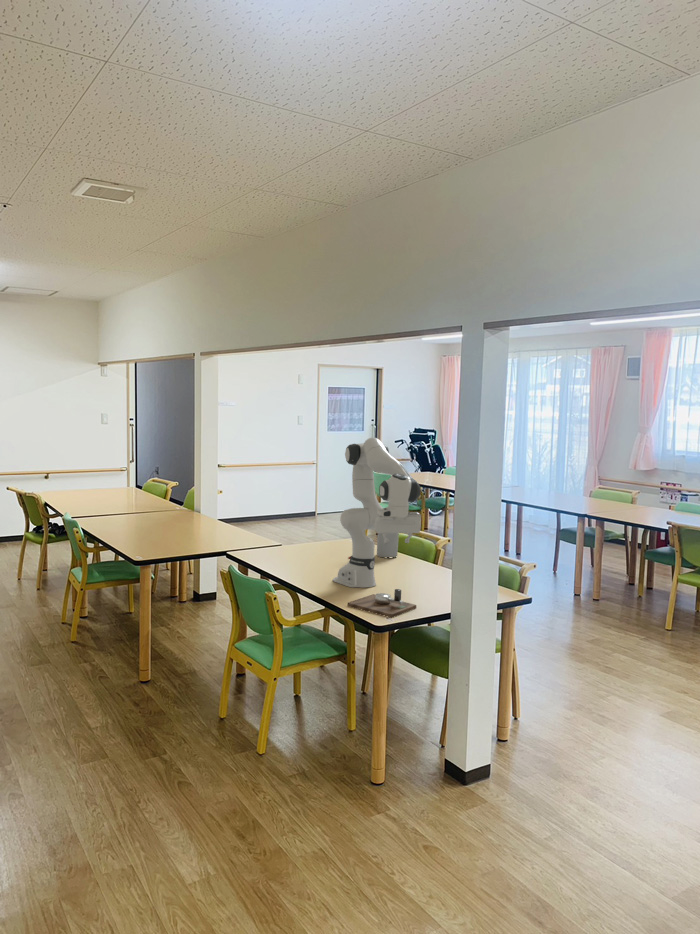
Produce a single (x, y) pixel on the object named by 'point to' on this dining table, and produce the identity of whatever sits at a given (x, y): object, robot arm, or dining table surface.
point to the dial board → (381, 606)
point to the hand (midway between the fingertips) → (396, 543)
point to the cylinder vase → (387, 545)
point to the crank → (389, 598)
